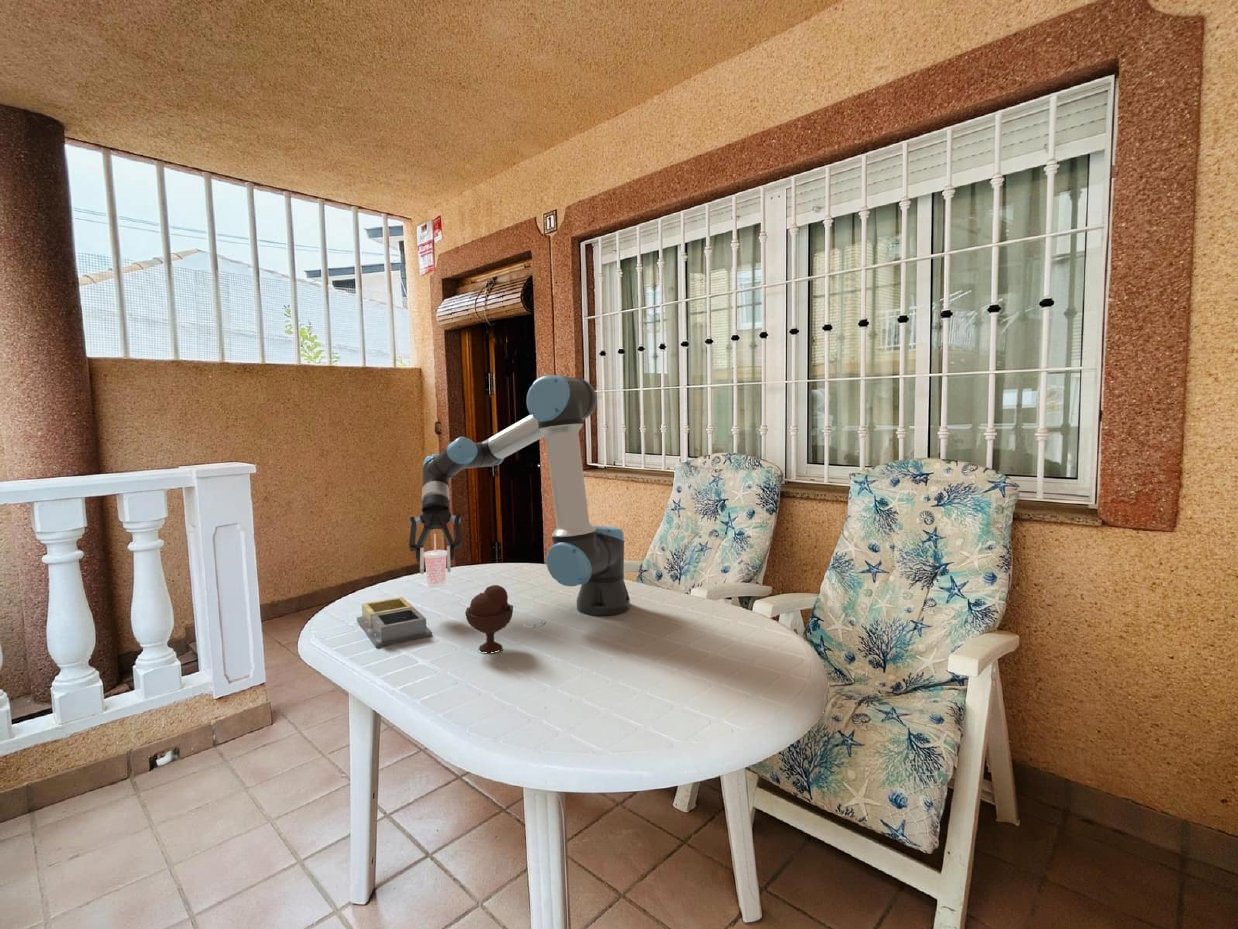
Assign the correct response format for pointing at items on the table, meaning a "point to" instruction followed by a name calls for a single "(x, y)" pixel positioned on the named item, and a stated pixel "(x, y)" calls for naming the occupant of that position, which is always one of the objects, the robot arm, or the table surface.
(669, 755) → the table surface
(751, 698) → the table surface
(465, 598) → the table surface
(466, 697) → the table surface
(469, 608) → the ice cream bowl
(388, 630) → the square compartment tray
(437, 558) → the beverage cup
